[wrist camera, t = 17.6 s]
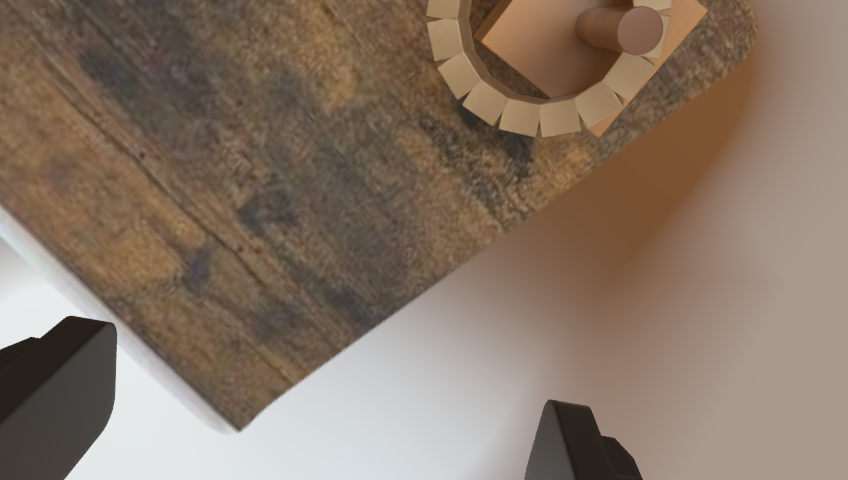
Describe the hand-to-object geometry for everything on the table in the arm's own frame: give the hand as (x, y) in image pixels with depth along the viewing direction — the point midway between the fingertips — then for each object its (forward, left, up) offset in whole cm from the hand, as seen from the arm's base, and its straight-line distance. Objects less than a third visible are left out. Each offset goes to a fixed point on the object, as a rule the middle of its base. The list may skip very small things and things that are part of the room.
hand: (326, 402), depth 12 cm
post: (-4, -11, -32) cm, 34 cm away
